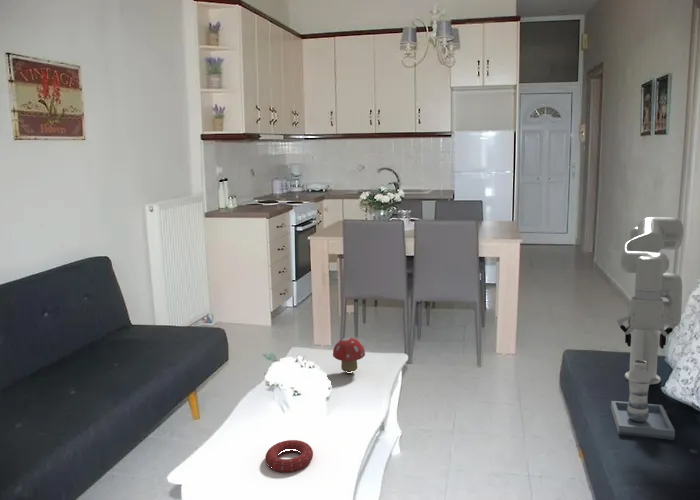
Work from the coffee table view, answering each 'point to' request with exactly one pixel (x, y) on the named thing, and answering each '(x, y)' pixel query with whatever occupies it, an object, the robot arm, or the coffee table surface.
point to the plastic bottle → (638, 392)
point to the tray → (651, 428)
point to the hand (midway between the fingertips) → (644, 346)
